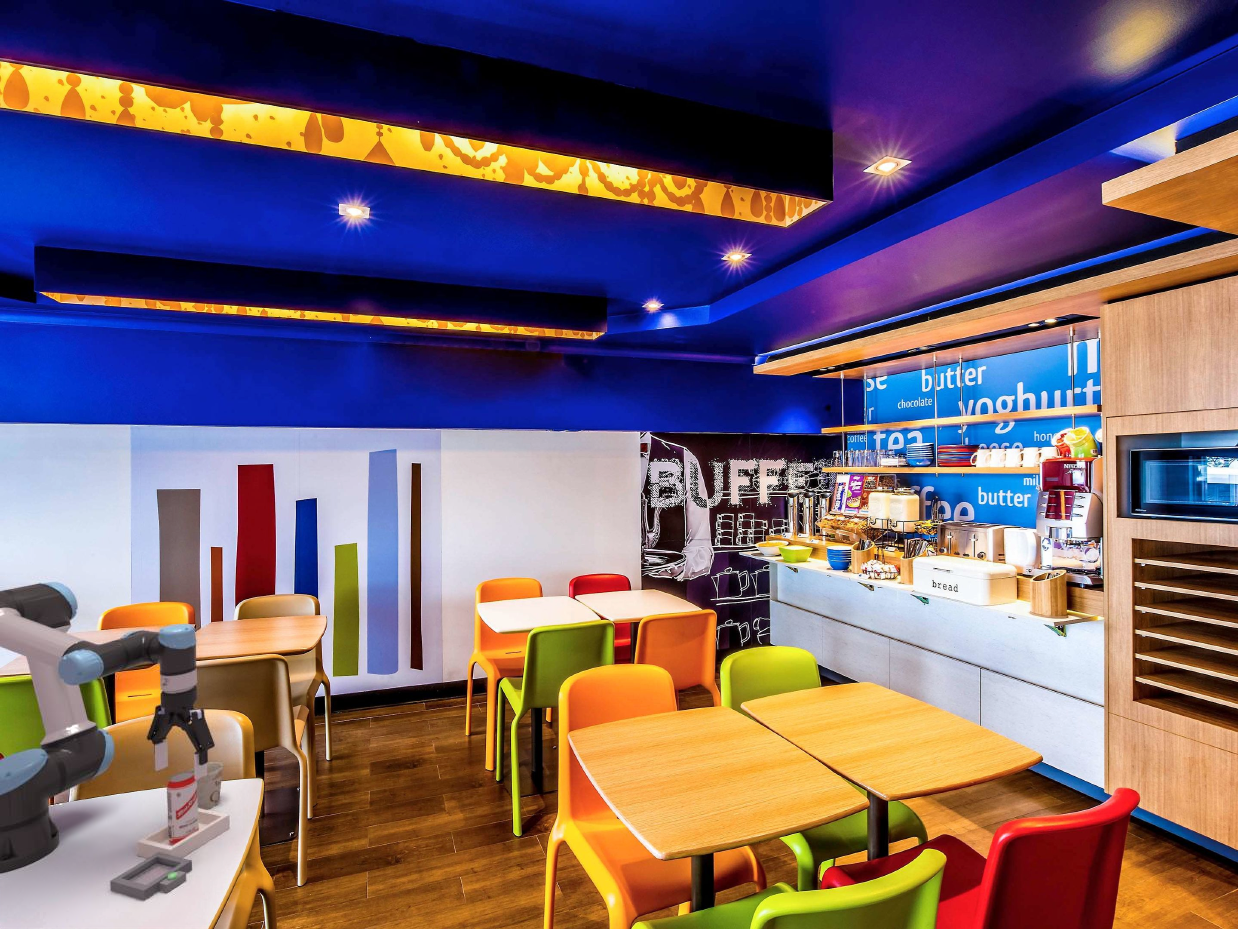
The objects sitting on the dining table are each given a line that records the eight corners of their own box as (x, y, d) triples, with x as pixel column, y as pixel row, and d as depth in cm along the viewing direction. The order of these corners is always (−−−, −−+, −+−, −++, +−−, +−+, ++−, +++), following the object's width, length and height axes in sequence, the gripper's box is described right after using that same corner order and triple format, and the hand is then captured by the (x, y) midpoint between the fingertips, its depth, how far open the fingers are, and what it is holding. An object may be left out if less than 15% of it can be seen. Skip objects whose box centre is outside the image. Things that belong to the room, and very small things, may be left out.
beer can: (164, 842, 161) (161, 778, 160) (191, 829, 166) (188, 767, 166) (176, 850, 157) (173, 785, 157) (204, 836, 163) (201, 773, 162)
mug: (206, 814, 174) (205, 777, 174) (167, 810, 176) (166, 774, 176) (231, 798, 182) (229, 763, 182) (193, 794, 185) (192, 759, 184)
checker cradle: (110, 890, 144) (110, 879, 144) (159, 861, 154) (158, 850, 154) (152, 903, 139) (151, 891, 139) (199, 871, 150) (199, 861, 150)
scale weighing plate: (124, 886, 145) (124, 883, 145) (156, 866, 152) (156, 863, 152) (147, 892, 143) (147, 889, 143) (178, 872, 149) (178, 869, 149)
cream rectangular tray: (137, 856, 156) (136, 841, 156) (197, 821, 171) (197, 807, 171) (171, 864, 153) (170, 850, 152) (229, 828, 167) (229, 814, 167)
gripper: (128, 687, 162) (130, 771, 162) (201, 699, 153) (203, 788, 154) (158, 677, 169) (160, 758, 169) (229, 688, 160) (231, 773, 161)
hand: (181, 772), depth 161 cm, fingers open, 13 cm apart
